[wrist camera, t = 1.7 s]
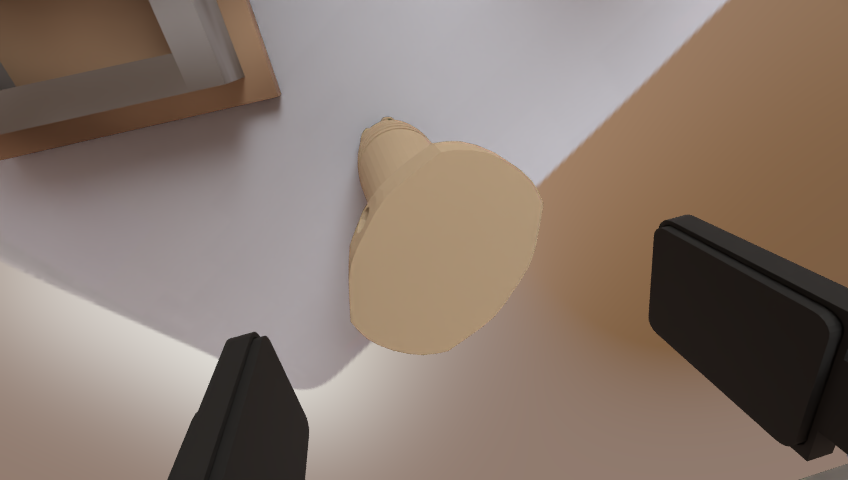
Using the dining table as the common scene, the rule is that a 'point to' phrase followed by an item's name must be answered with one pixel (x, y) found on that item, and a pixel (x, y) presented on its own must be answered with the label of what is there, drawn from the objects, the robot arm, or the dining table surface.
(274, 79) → the socket
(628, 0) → the dining table surface
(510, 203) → the handle
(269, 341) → the robot arm
